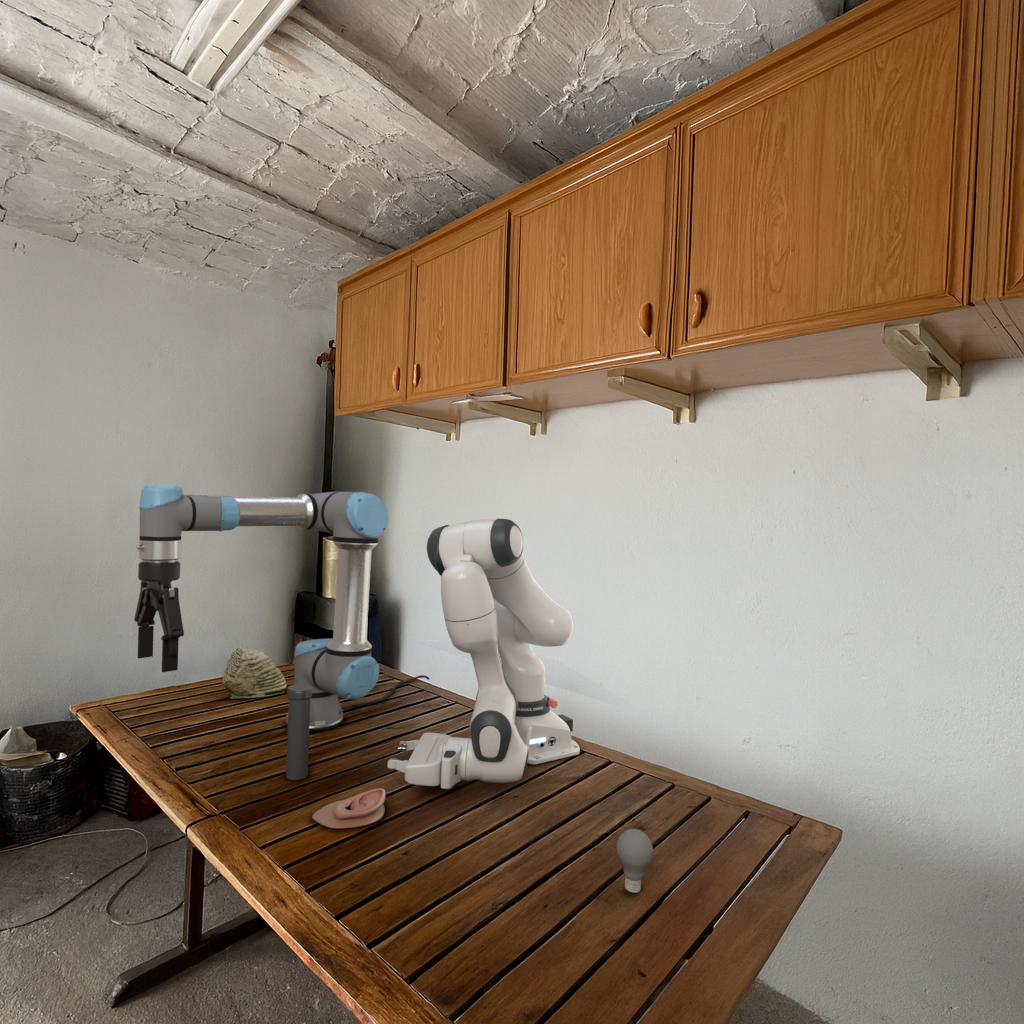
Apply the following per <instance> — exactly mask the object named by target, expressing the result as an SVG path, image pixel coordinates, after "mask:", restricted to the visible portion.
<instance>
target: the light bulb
mask: <svg viewBox="0 0 1024 1024" xmlns="http://www.w3.org/2000/svg"><path fill="white" fill-rule="evenodd" d="M615 849H616V854H617V857H618V859H619V861H620V863H621V865H622V867H623V873H624V874H623V875H624V876H625V878H624V888H625V890H627V891H628V892H630V893H634V894H635V893H639V892H640V891H641V889H642V887H641V886H642V879H643V877H644V875H645V871H646V868H647V867H648V866H649V864H650V863H651V861H652V859H653V855H654V847H653V843H652V841H651V838H649V836H648V835H647V834H646V833H645V832H643V831H642V830H641V829H636V828H629V829H627V830H625V831H623V832H622V833H621V834H620V835H619V837H618V839H617V841H616V847H615Z"/></svg>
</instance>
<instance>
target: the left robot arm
mask: <svg viewBox="0 0 1024 1024" xmlns="http://www.w3.org/2000/svg"><path fill="white" fill-rule="evenodd" d="M139 497H140V498H139V506H138V509H139V544H137V545H136V546H135V547H136V550H137V551H138V559H139V560H141V561H140V562H139V563H138V564H137V565H138V568H137V571H138V573H137V578H138V580H139V581H140V589H139V590H140V591H139V595H138V599H137V604H136V609H135V614H134V619H133V620H134V622H135V623H136V625H137V627H138V628H137V659H146V658H151V657H154V630H155V629H154V628H155V626H154V625H156V622H155V620H154V619H155V617H156V614H157V612H158V616H159V620H160V624H161V627H162V631H163V634H162V636H161V638H160V640H161V645H162V647H161V673H169V672H173V671H178V669H179V668H178V667H179V640H180V638H181V637H184V636H185V630H184V625H183V618H182V612H181V606H180V599H179V597H180V596H179V595H180V594H179V587H172V582H173V581H177V580H179V579H180V578H181V562H180V561H179V560H180V559H181V558H182V532H222V531H224V532H225V531H232V530H235V529H236V528H237V527H296V528H298V529H299V530H308V531H309V530H310V531H318V532H324V533H328V534H329V533H330V534H332V543H333V544H334V545H335V546H336V548H337V550H338V552H337V566H336V567H337V568H336V569H337V570H336V583H335V602H334V619H333V633H332V638H317V639H308V640H304V641H300V642H299V643H297V645H296V646H295V650H294V655H293V657H294V672H293V673H294V674H293V685H295V684H309V685H311V686H312V696H311V699H310V725H309V733H316V732H325V731H329V730H332V729H335V728H337V727H339V726H340V725H342V723H343V722H344V714H343V710H346V709H352V708H357V707H363V706H369V705H374V704H378V703H380V702H383V701H385V700H387V699H388V698H389V697H390V696H391V695H393V693H395V690H397V689H398V688H399V687H400V686H402V685H404V684H408V683H410V682H413V681H416V680H418V679H422V678H424V679H426V680H430V677H429V676H427V675H423V674H421V675H417V676H414V677H412V678H409V679H406V680H403V681H401V682H399V683H397V684H396V685H395V686H394V687H393V688H392V689H391V690H390V692H389V693H388V694H386V695H385V696H383V697H381V698H379V699H375V700H372V701H366V702H360V703H355V704H348V705H343V706H341V702H340V699H339V698H341V699H347V700H352V701H357V700H360V699H363V698H364V697H366V696H368V694H370V692H371V691H372V690H373V689H374V688H375V687H376V684H377V683H378V680H379V676H380V666H379V664H378V663H379V662H377V660H376V659H375V658H374V657H373V656H372V647H373V645H372V643H370V641H368V639H367V635H368V616H369V602H370V587H371V586H370V585H371V568H372V567H371V566H372V550H373V549H374V548H375V547H377V546H378V544H379V537H380V536H382V535H383V534H384V531H385V530H386V529H387V527H388V525H389V511H388V509H387V506H386V504H385V503H384V502H383V500H382V499H381V498H380V497H379V496H377V495H376V494H373V493H371V492H370V493H369V492H364V491H337V490H336V491H327V492H319V493H318V492H317V493H299V494H298V495H296V496H295V497H292V496H291V497H290V496H257V495H256V496H252V495H249V496H248V495H215V494H213V495H209V494H208V495H207V494H206V495H205V494H184V492H183V488H182V487H181V486H178V485H157V484H153V485H152V484H148V485H145V486H143V487H142V488H141V492H140V496H139ZM285 726H286V728H288V712H287V713H286V715H285Z"/></svg>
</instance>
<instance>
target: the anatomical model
mask: <svg viewBox="0 0 1024 1024" xmlns="http://www.w3.org/2000/svg"><path fill="white" fill-rule="evenodd" d="M386 794H387V793H386V790H385V788H381V787H380V788H374V789H370V790H367V791H364V792H360V793H358V794H355V795H353V796H351V797H348V798H346V799H342V800H337V801H333V802H331V803H327V804H326V805H324V806H322V807H320V808H318V810H316V811H314V813H312V816H311V818H312V820H313V821H315V823H318V824H319V825H322V826H323V827H326V828H329V829H348V828H350V829H351V828H358V827H363V826H367V825H370V824H373V823H375V822H377V821H379V820H381V819H382V818H383V817H384V815H385V805H384V803H385V802H386V801H385V800H386V796H387V795H386Z"/></svg>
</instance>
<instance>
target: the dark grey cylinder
mask: <svg viewBox="0 0 1024 1024" xmlns="http://www.w3.org/2000/svg"><path fill="white" fill-rule="evenodd" d="M310 699H311V697H310V698H307V699H303V700H293V699H289V698H288V709H287V713H288V727H287V734H286V760H285V761H286V762H285V764H286V765H285V778H286V779H287V780H289V781H300V780H303V779H306V778H307V777H308V775H309V750H310V748H309V747H310V732H309V725H310Z"/></svg>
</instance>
